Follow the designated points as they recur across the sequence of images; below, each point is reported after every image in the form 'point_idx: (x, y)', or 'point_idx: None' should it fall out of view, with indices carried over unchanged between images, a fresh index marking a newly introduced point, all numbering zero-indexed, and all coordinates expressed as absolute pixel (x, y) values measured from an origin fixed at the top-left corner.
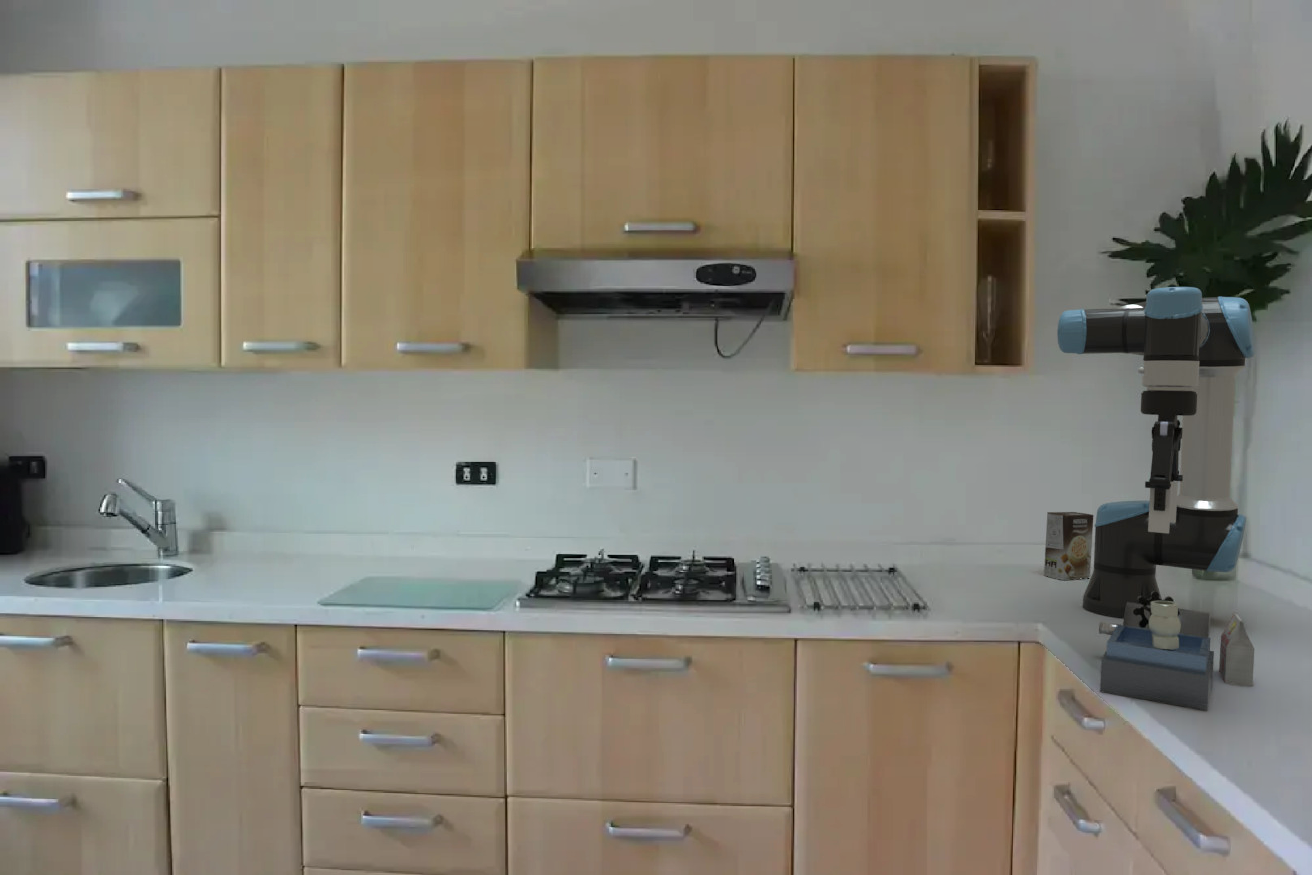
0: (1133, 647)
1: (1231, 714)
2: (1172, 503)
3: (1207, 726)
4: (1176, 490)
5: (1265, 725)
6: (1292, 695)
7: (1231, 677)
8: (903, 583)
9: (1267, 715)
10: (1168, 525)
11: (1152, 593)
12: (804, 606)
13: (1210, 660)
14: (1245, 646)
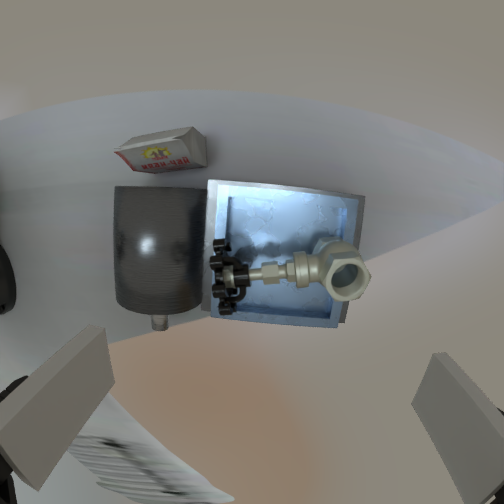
0: None
1: (350, 170)
2: (64, 383)
3: (404, 201)
4: (22, 410)
5: (370, 142)
6: (222, 98)
7: (204, 159)
8: None
9: (331, 133)
10: (459, 368)
11: (226, 296)
12: (182, 497)
13: (271, 186)
14: (190, 137)
